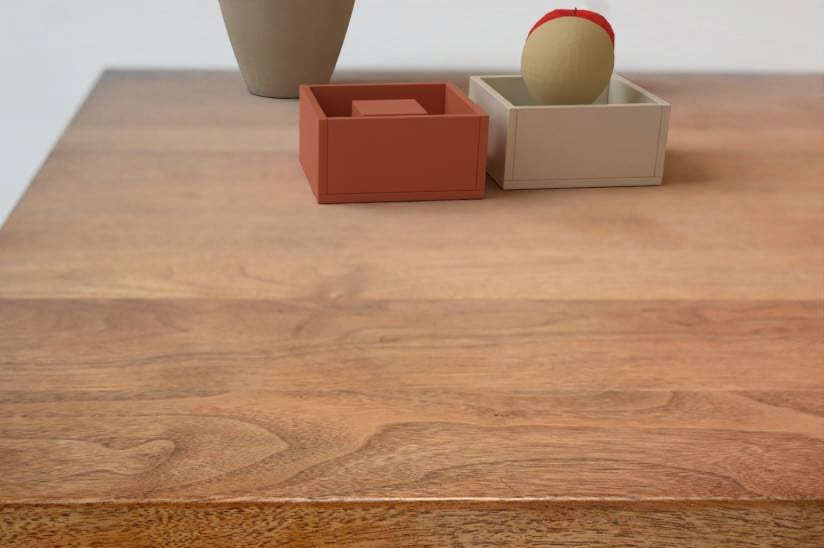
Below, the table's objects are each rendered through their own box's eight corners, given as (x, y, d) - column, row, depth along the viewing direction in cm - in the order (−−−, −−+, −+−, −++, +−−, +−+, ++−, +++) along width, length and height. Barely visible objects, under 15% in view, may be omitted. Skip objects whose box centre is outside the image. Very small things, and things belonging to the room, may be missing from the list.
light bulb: (496, 158, 91) (505, 16, 87) (549, 143, 95) (560, 7, 91) (569, 174, 87) (583, 27, 83) (621, 158, 91) (637, 17, 87)
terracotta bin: (447, 156, 94) (451, 81, 92) (484, 198, 84) (489, 115, 81) (299, 160, 93) (299, 84, 91) (317, 203, 83) (318, 119, 80)
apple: (507, 89, 116) (513, 7, 113) (550, 77, 122) (556, -2, 119) (585, 101, 112) (593, 16, 109) (626, 88, 117) (634, 6, 114)
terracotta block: (412, 161, 90) (415, 99, 89) (425, 178, 86) (428, 112, 84) (350, 163, 90) (351, 100, 88) (360, 180, 86) (362, 114, 84)
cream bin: (607, 145, 97) (615, 72, 95) (661, 185, 87) (671, 104, 84) (465, 149, 96) (469, 75, 94) (503, 189, 86) (508, 108, 83)
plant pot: (184, 82, 120) (178, -96, 113) (326, 70, 125) (328, -100, 119) (240, 113, 107) (237, -84, 101) (395, 99, 113) (401, -89, 106)
